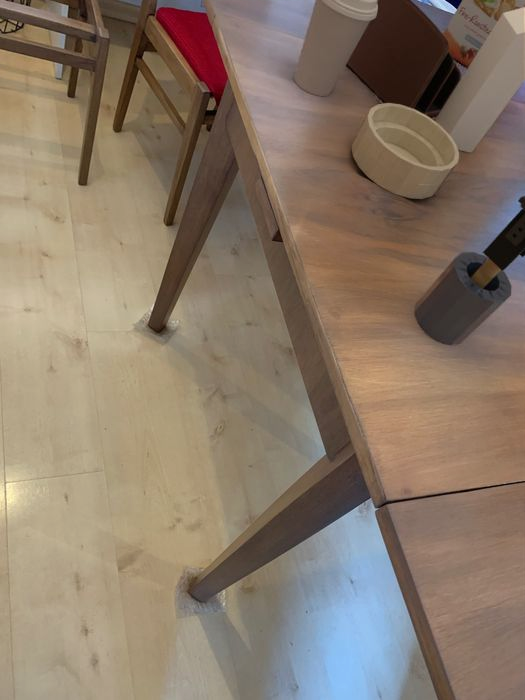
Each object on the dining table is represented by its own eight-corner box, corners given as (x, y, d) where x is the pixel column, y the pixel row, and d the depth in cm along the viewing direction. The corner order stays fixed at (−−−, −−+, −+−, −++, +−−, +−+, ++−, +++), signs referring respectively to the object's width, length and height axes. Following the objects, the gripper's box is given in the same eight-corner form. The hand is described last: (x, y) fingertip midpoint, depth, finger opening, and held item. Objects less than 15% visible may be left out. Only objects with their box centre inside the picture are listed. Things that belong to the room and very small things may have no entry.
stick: (448, 318, 67) (555, 208, 53) (447, 328, 66) (555, 218, 52) (435, 312, 67) (538, 199, 53) (433, 322, 66) (538, 210, 52)
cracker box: (434, 47, 114) (499, -68, 98) (444, 40, 118) (509, -72, 102) (491, 85, 113) (567, -26, 96) (499, 77, 116) (573, -31, 100)
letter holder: (403, 123, 93) (452, 40, 82) (331, 51, 99) (367, -35, 88) (439, 116, 98) (489, 37, 87) (368, 49, 104) (407, -33, 93)
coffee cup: (331, 110, 88) (375, 13, 76) (277, 81, 87) (313, -21, 76) (345, 85, 94) (389, -9, 82) (295, 58, 93) (331, -40, 82)
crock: (465, 316, 70) (512, 269, 63) (460, 358, 65) (510, 312, 58) (416, 292, 70) (457, 242, 63) (407, 332, 65) (451, 283, 58)
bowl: (440, 166, 89) (463, 134, 84) (429, 217, 80) (454, 184, 75) (360, 124, 88) (378, 90, 83) (340, 172, 79) (358, 136, 74)
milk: (441, 146, 92) (531, 11, 75) (431, 124, 96) (516, -11, 78) (471, 153, 94) (567, 23, 77) (461, 131, 97) (550, 1, 80)
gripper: (705, -6, 45) (515, 208, 63) (635, 4, 36) (434, 253, 54) (786, 48, 43) (565, 253, 61) (735, 75, 34) (491, 309, 52)
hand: (504, 253), depth 58 cm, fingers open, 4 cm apart
